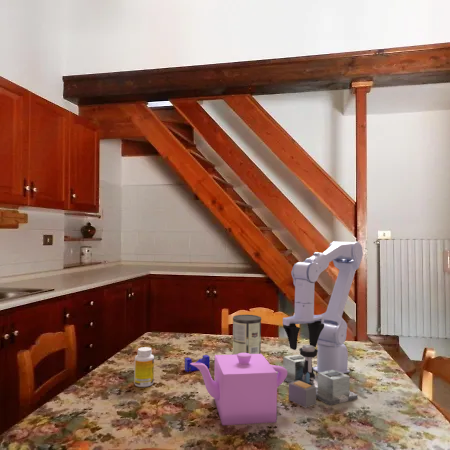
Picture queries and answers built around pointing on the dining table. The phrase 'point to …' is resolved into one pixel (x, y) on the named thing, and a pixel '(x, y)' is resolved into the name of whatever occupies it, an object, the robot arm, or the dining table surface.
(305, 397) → the block
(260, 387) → the teapot
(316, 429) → the dining table surface
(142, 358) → the supplement bottle
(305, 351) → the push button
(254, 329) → the coffee can
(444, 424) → the dining table surface
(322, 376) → the rail plate
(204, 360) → the cable holder
